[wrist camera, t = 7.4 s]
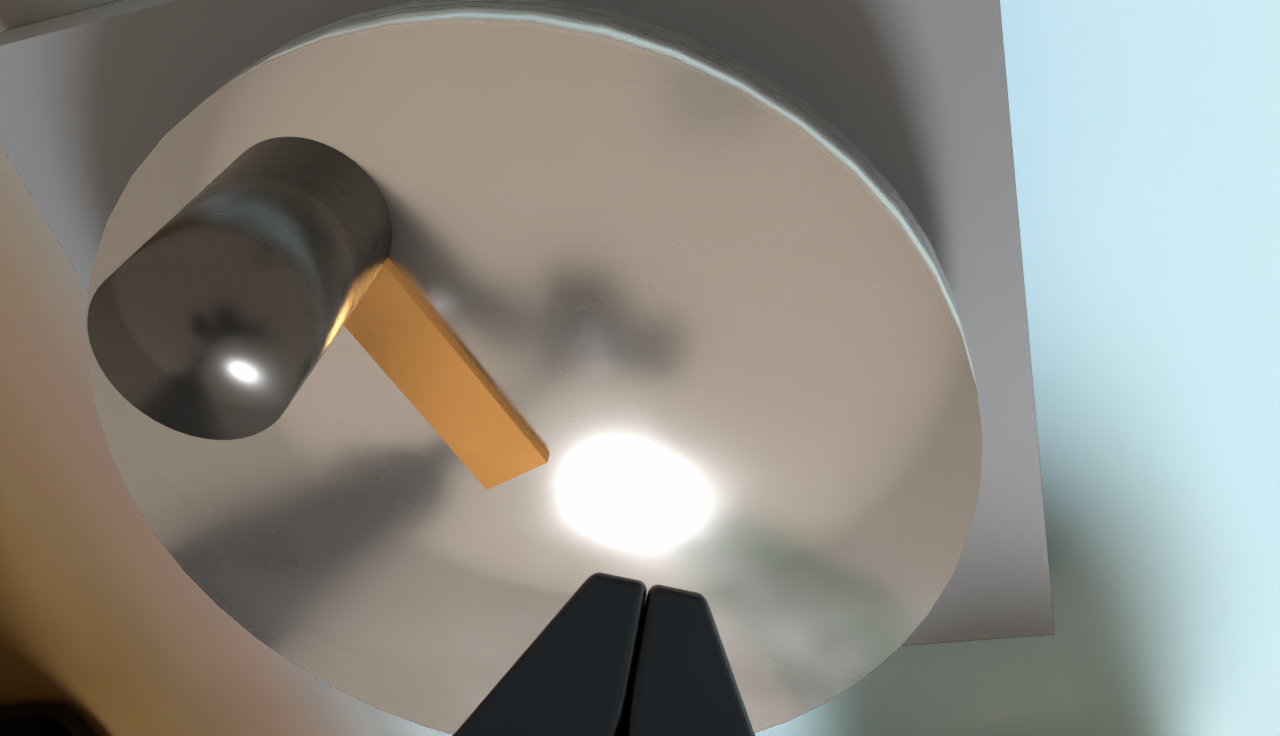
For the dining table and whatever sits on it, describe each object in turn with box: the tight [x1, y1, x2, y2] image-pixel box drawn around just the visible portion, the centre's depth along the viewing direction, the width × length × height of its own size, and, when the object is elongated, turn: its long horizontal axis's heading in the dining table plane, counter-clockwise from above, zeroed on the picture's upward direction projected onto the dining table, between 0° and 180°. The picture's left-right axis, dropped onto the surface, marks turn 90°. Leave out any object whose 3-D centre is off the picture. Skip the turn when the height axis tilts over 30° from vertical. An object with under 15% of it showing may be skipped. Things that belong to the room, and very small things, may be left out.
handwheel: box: [85, 0, 983, 735], centre depth 17 cm, size 14×14×5 cm
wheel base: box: [0, 0, 1055, 688], centre depth 20 cm, size 16×15×3 cm
